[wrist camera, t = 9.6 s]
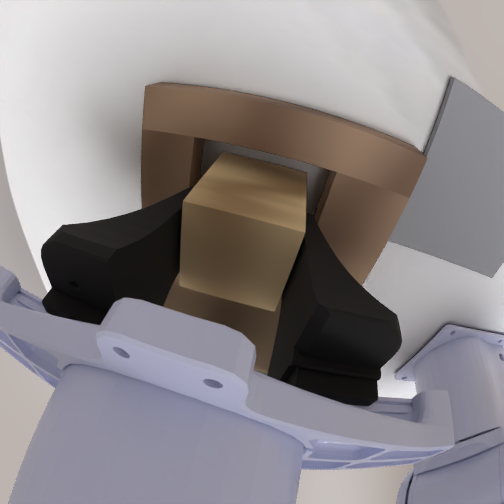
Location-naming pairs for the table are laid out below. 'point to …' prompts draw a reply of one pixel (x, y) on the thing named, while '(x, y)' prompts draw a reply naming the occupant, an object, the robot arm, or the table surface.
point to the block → (243, 230)
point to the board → (287, 145)
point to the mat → (460, 186)
